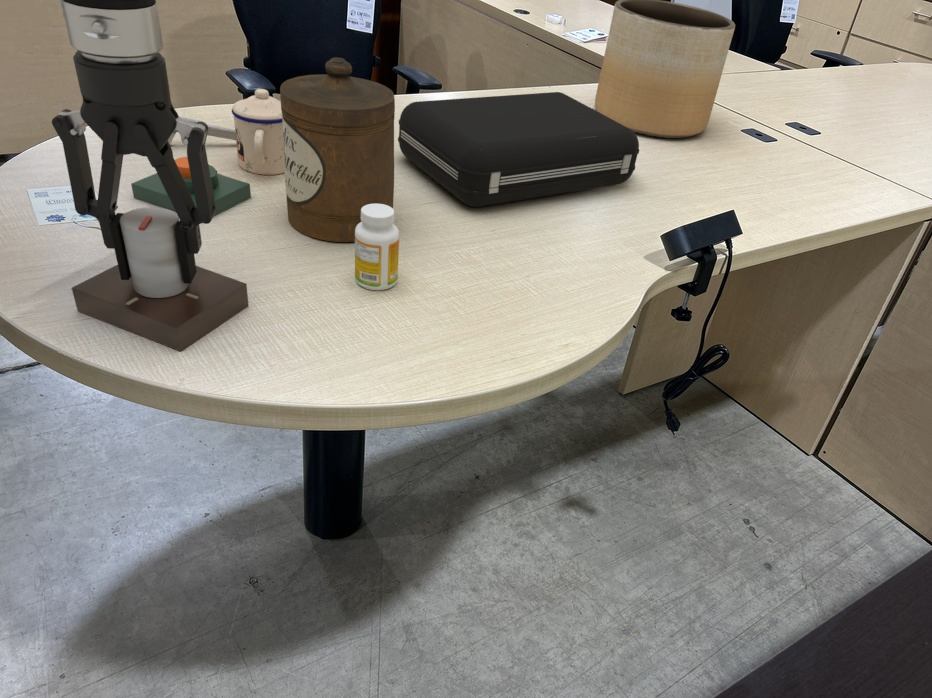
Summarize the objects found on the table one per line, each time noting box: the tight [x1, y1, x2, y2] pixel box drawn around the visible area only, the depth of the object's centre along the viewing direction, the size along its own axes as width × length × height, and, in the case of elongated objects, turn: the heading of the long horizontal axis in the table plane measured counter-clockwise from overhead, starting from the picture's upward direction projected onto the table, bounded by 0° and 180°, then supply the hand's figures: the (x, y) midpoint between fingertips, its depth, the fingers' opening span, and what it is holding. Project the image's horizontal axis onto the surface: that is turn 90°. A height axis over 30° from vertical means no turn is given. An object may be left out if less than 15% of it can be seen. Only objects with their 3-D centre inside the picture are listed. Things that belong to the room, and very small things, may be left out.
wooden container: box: [279, 56, 396, 243], centre depth 99 cm, size 15×15×22 cm
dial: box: [120, 206, 189, 298], centre depth 79 cm, size 6×6×8 cm
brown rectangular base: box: [71, 263, 249, 352], centre depth 82 cm, size 14×11×3 cm
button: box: [174, 156, 191, 178], centre depth 103 cm, size 4×4×2 cm
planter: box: [594, 0, 736, 139], centre depth 157 cm, size 25×25×22 cm
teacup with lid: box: [231, 88, 285, 176], centre depth 113 cm, size 12×9×12 cm
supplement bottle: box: [354, 204, 400, 291], centre depth 91 cm, size 5×5×10 cm
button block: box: [130, 164, 252, 218], centre depth 104 cm, size 12×10×4 cm
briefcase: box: [397, 91, 640, 208], centre depth 128 cm, size 36×32×10 cm
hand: (159, 275), depth 80 cm, fingers closed on dial, 6 cm apart
